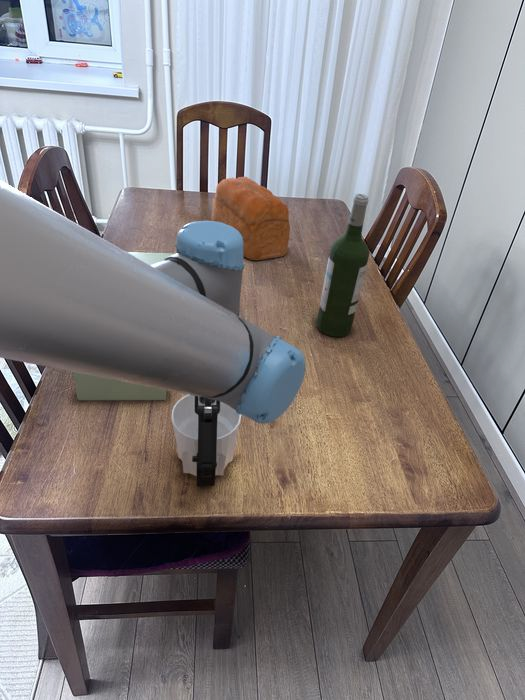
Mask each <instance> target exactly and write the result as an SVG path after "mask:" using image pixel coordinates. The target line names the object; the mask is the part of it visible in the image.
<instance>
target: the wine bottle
mask: <svg viewBox="0 0 525 700" xmlns="http://www.w3.org/2000/svg"><path fill="white" fill-rule="evenodd" d="M368 203H369V196H368V195H367V194H364V193H356V194H355V196H354V197H353V200H352V206H351V210H350V215H349V218H348V223H347V227H346V231H345V233H344V235H342V236H341V237H339V238H337V239H336V240H334V241H333V242H332V243H331V246H330V249H329V254H328V260H327V265H326V271H325V274H324V275H325V276H324V280H323V286H322V290H321V291H322V292H321V295H320V301H319V307H318V311H317V317H316V318H317V319H316V328H317V329H318V330H319V331H320V332H321V333H323V334H325V335H326V336H329V337H334V338H342V337H345V336H348V335H349V334H350V333H351V331H352V327H353V323H354V319H355V316H356V311H357V306H358V303H359V299H360V295H361V290H362V286H363V282H364V278H365V274H366V270H367V266H368V262H369V257H370V250H369V246H368V245H367V243H366V242H365V241H364V239H363V236H362V233H363V227H364V223H365V216H366V212H367V206H368Z"/></svg>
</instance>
